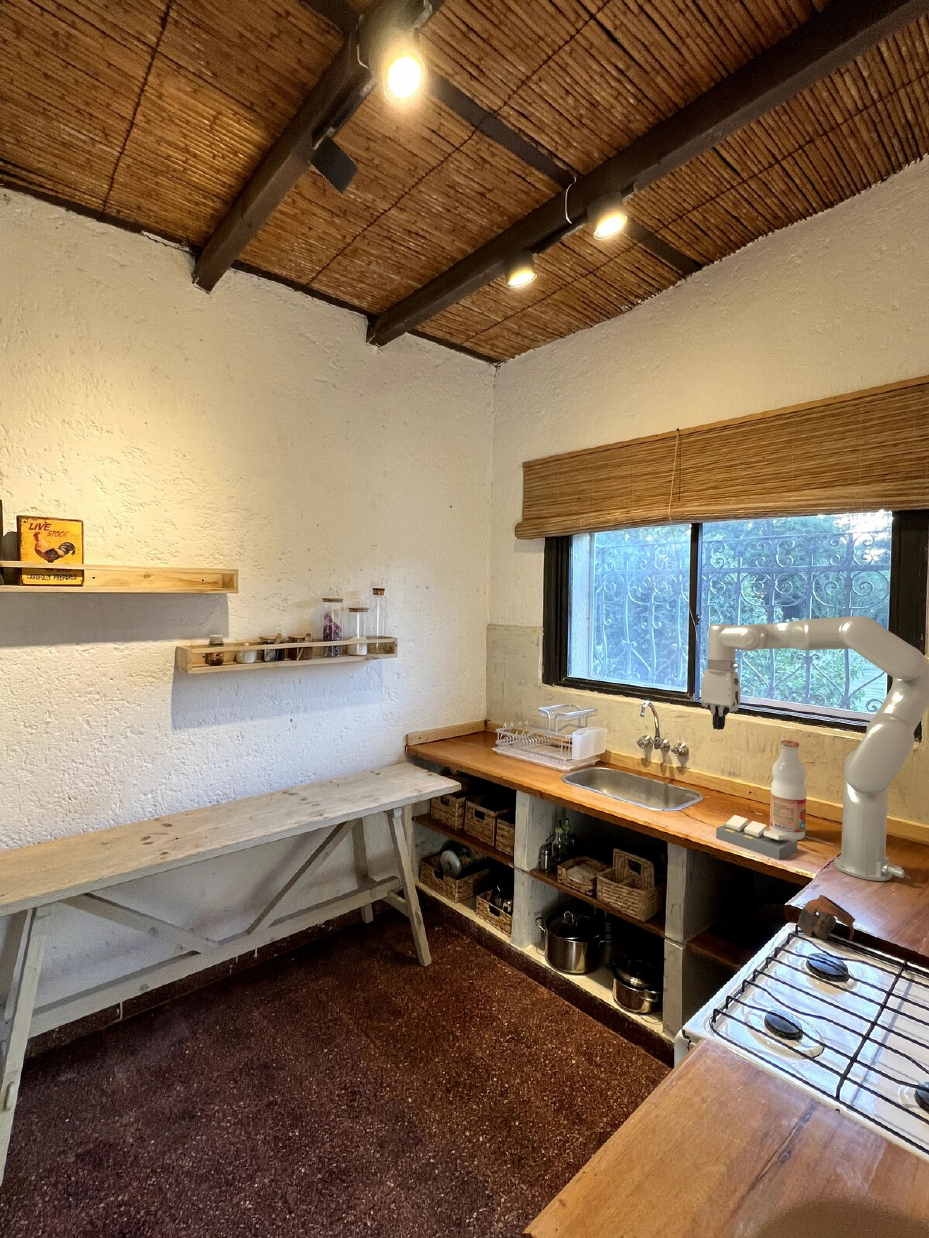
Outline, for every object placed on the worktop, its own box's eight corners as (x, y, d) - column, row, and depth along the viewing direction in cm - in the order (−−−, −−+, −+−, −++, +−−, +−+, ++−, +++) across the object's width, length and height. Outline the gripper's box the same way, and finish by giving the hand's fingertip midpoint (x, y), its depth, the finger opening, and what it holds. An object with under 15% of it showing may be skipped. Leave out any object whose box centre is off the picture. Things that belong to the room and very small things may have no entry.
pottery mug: (793, 918, 130) (814, 887, 130) (838, 951, 125) (860, 919, 125) (793, 928, 120) (816, 895, 120) (841, 965, 115) (865, 930, 115)
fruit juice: (765, 827, 184) (767, 737, 183) (798, 830, 182) (801, 739, 181) (775, 839, 174) (778, 744, 174) (810, 842, 173) (813, 746, 172)
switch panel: (796, 851, 166) (797, 840, 166) (778, 860, 160) (779, 848, 160) (734, 830, 180) (735, 820, 180) (716, 838, 174) (716, 827, 174)
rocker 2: (767, 829, 170) (766, 825, 169) (758, 837, 167) (758, 833, 167) (753, 825, 173) (752, 820, 173) (744, 833, 170) (744, 828, 170)
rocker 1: (748, 823, 174) (747, 818, 174) (739, 831, 171) (739, 827, 171) (735, 819, 177) (734, 814, 177) (726, 827, 175) (725, 823, 174)
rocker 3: (786, 840, 165) (787, 834, 165) (778, 841, 162) (778, 835, 162) (771, 835, 168) (772, 830, 168) (763, 836, 165) (764, 830, 166)
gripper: (752, 668, 170) (750, 732, 170) (704, 663, 182) (702, 723, 182) (739, 669, 165) (736, 735, 166) (690, 664, 177) (688, 725, 177)
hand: (718, 728), depth 174 cm, fingers closed
